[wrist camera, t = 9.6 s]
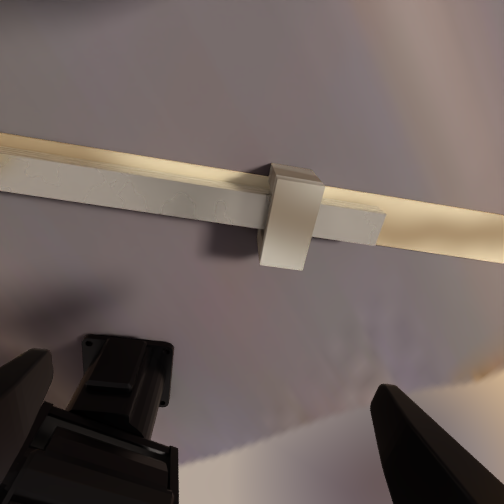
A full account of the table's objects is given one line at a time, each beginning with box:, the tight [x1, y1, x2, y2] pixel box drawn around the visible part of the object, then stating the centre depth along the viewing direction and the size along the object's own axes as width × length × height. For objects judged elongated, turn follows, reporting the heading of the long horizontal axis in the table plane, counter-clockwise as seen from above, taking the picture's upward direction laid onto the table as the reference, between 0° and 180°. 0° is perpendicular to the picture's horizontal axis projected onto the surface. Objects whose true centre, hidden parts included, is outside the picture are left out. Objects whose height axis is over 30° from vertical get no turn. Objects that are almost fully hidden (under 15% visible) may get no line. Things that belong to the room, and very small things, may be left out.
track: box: [0, 133, 504, 270], centre depth 18 cm, size 5×54×4 cm, turn 80°
